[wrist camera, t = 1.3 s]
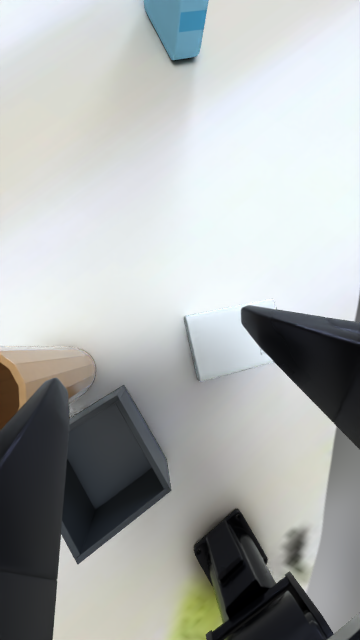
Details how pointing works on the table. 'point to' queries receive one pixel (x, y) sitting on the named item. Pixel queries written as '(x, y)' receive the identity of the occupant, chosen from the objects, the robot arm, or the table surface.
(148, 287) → the table surface
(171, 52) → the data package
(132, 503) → the bin
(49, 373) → the cup
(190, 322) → the hard drive
